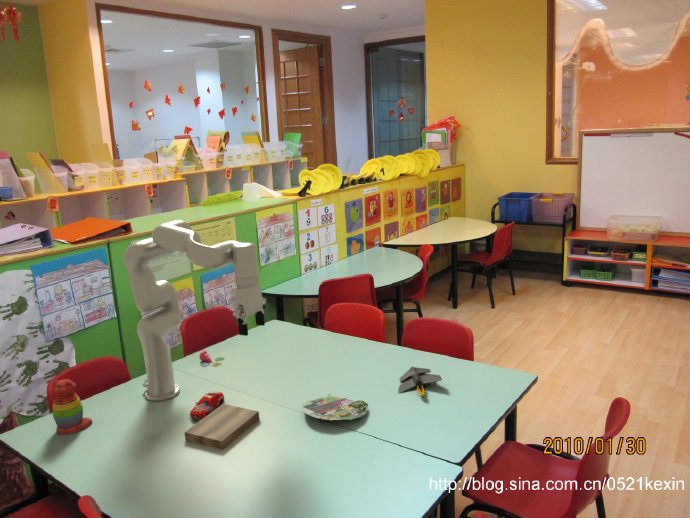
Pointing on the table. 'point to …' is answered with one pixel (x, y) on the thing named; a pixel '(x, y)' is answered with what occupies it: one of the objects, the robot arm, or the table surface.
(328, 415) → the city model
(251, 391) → the table surface
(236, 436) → the walnut base
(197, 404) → the race car
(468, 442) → the table surface
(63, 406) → the stacking bear
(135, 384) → the table surface
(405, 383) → the toy plane
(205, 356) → the toy pieces
